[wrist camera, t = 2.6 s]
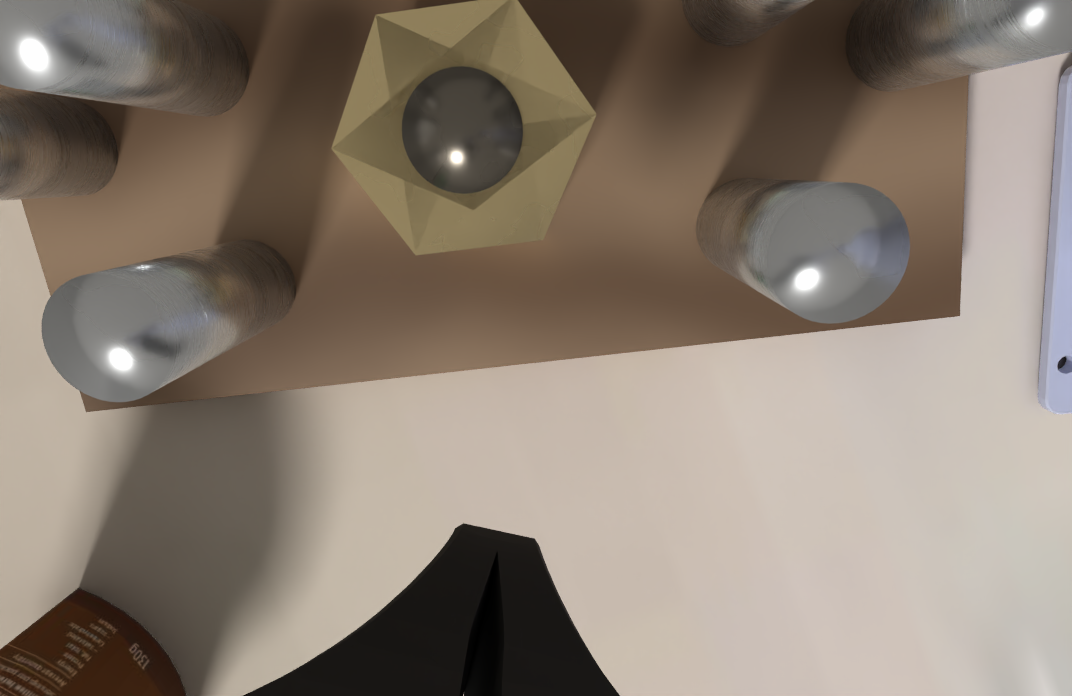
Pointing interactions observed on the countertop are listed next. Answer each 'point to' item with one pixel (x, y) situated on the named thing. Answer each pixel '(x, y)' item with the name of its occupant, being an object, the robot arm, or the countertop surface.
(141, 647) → the food container
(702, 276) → the board
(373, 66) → the nut
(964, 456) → the countertop surface
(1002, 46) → the spacers
